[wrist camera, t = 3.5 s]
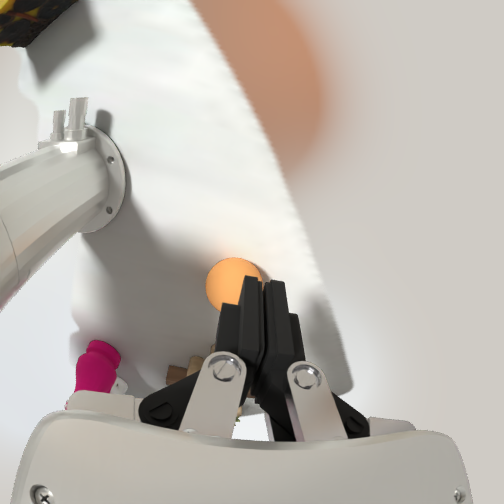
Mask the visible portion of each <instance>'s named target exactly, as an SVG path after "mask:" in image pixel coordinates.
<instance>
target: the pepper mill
mask: <svg viewBox="0 0 504 504" xmlns="http://www.w3.org/2000/svg"><path fill="white" fill-rule="evenodd" d="M120 360H121V358H120V355H119V353H118V352H117V351H116V350H115V349H114V348H113V347H112V346H110V345H109V344H107V343H105V342H103V341H99V340H94V341H91V342H90V344H89V346H88V348H87V350H86V353H85V354H83V355H81V356H80V357H79V359H78V362H77V365H76V387H75V391H74V393H75V392H77V391H80V390H87V391H94V392H102V393H106V392H107V391H109V390H110V389H111V387H112V386H113V385H114V383H115V381H116V378H117V375H116V371H115V369H117V368H118V366H119V363H120ZM67 404H68V400H67V401H66V404H65V410H67Z"/></svg>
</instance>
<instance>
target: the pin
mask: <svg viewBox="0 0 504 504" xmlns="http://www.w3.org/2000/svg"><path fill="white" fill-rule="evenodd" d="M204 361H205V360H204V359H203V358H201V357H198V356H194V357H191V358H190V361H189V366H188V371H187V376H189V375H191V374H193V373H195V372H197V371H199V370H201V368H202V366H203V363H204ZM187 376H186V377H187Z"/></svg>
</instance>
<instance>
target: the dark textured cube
mask: <svg viewBox="0 0 504 504" xmlns="http://www.w3.org/2000/svg"><path fill="white" fill-rule="evenodd" d="M77 1H78V0H0V46H11V47H23V48H24V47H26V46H27V45H29V44H30V43H31V42H32V40H33V39H34V38H36V37H37V36H38V35H39V34H40V32H41V31H43V30H44V29H45V28H46V27H47V26H48V25H49V24H50V23H51V22H52V21H53V20H55V19H56V18H57V17H58V16H59V15H60V14H61V13H62V12H63V11H65V10H66V9H67V8H69V7H70V6H71V5H72V4H73V3H75V2H77Z"/></svg>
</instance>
